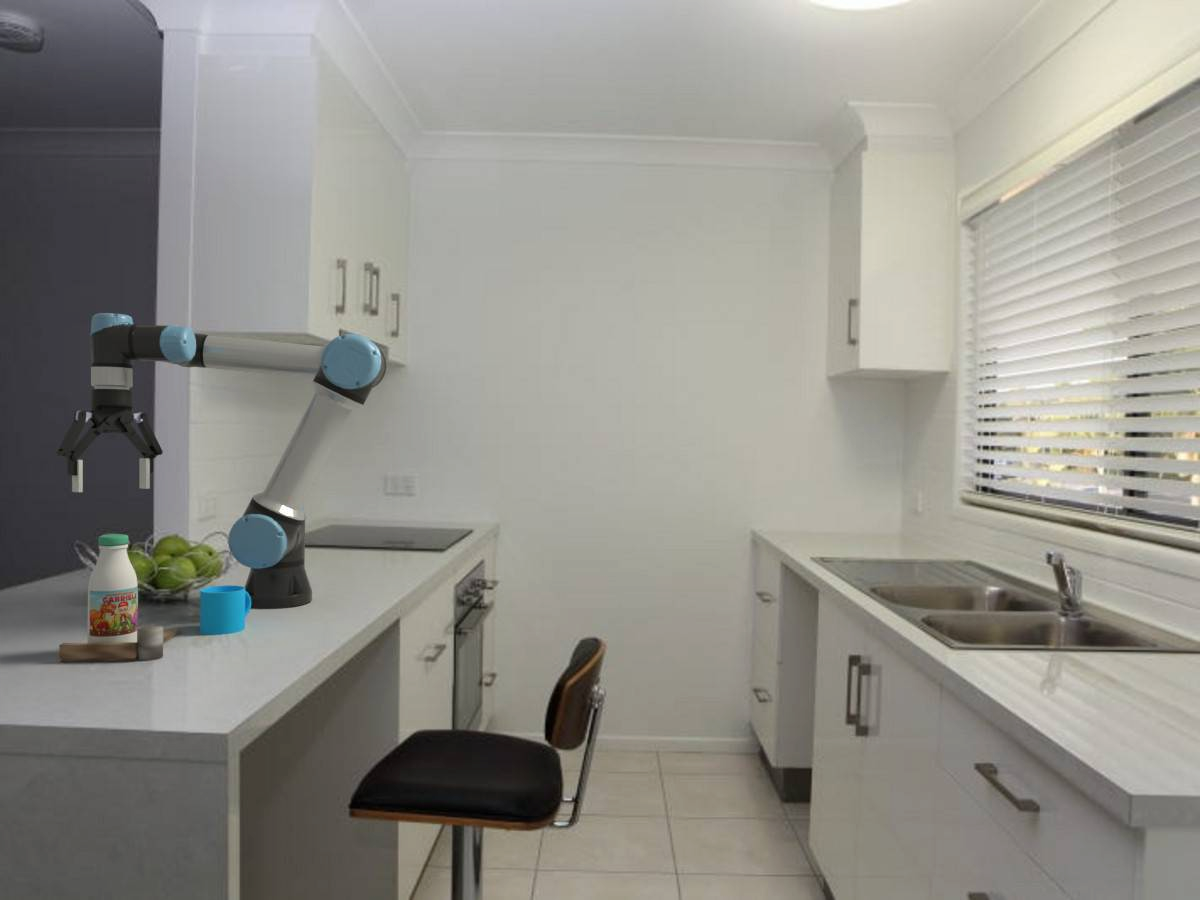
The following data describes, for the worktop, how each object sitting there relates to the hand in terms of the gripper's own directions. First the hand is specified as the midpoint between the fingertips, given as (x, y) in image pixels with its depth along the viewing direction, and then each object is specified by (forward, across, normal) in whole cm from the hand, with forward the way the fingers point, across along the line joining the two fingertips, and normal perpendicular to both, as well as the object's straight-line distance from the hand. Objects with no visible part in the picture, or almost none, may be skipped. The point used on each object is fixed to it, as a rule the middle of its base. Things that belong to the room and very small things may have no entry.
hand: (112, 490), depth 176 cm
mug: (+27, -9, +28) cm, 40 cm away
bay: (+27, +10, +27) cm, 40 cm away
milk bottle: (+26, +14, +28) cm, 41 cm away
